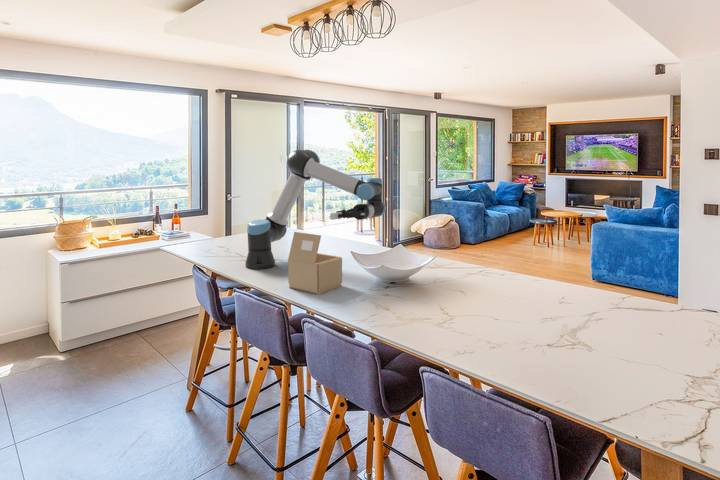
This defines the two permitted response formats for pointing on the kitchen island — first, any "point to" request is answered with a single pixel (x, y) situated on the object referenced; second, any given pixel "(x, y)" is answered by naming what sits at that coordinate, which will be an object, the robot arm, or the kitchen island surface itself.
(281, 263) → the kitchen island surface
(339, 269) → the carton
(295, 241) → the front flap
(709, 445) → the kitchen island surface
